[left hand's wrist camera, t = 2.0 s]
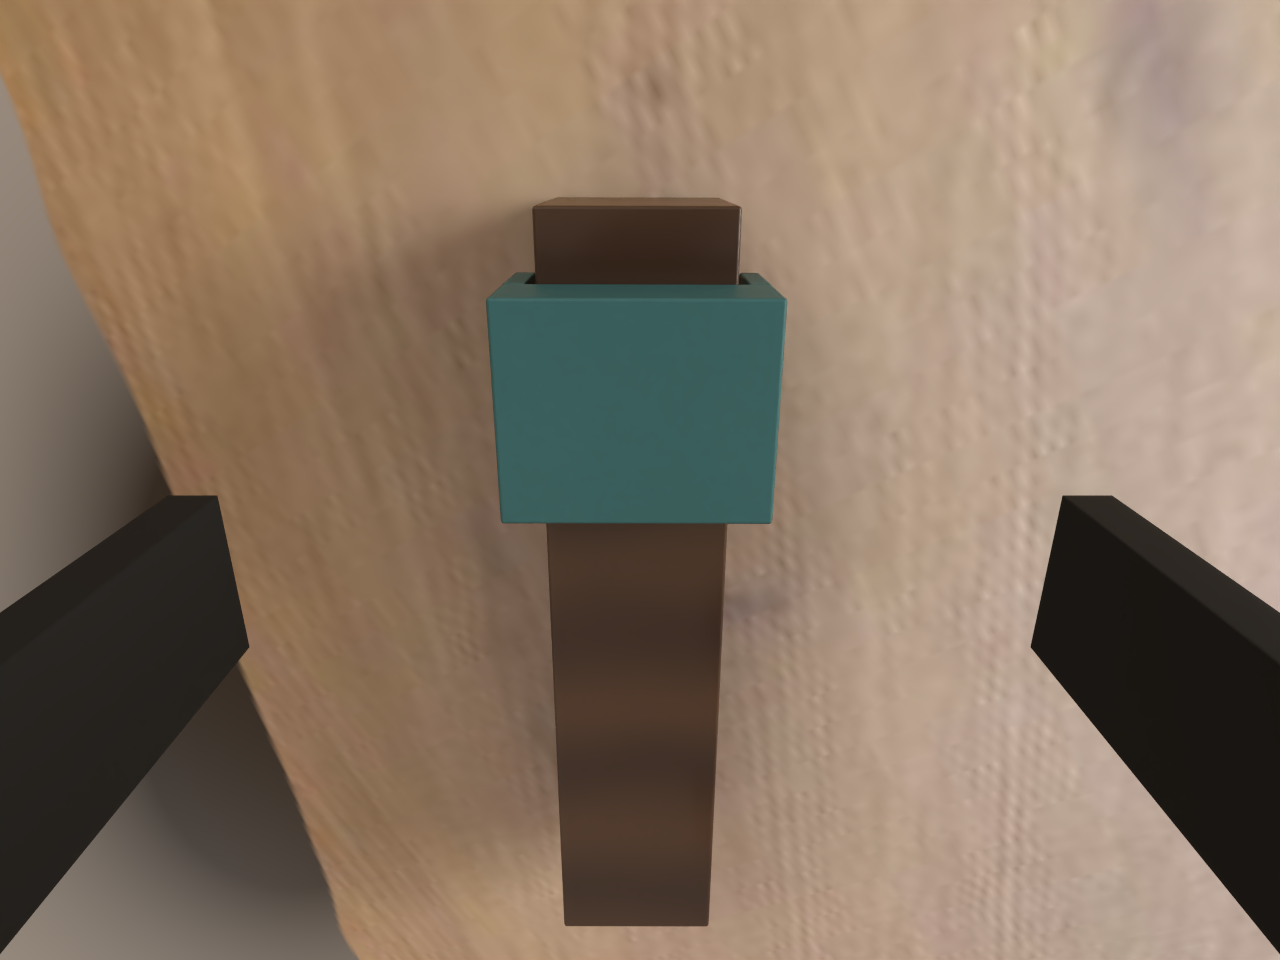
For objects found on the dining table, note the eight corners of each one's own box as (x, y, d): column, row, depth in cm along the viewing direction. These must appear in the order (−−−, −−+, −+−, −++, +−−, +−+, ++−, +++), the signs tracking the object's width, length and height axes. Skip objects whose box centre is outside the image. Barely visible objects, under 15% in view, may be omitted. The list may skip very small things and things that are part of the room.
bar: (554, 197, 26) (531, 205, 21) (720, 197, 26) (742, 205, 21) (576, 808, 36) (564, 927, 30) (697, 808, 36) (708, 927, 30)
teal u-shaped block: (515, 272, 24) (485, 297, 19) (759, 272, 24) (788, 298, 19) (525, 460, 26) (500, 524, 21) (748, 461, 26) (772, 525, 21)
